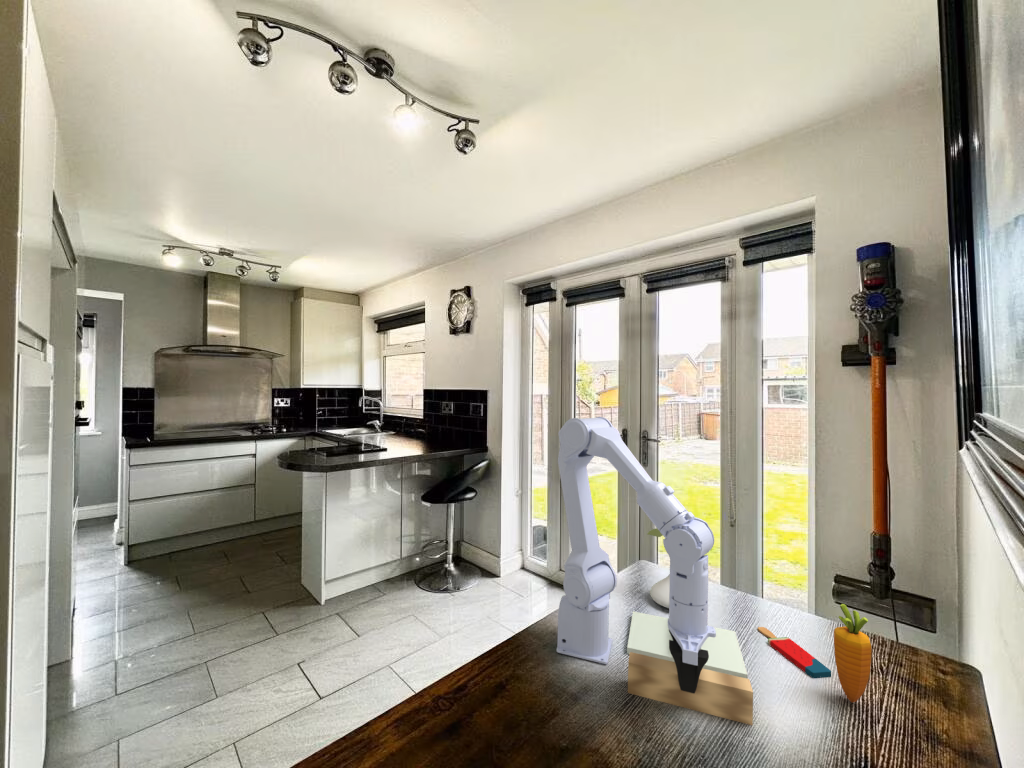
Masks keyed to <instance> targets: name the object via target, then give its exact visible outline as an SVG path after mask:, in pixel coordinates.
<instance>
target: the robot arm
mask: <svg viewBox="0 0 1024 768" xmlns="http://www.w3.org/2000/svg"><path fill="white" fill-rule="evenodd" d="M557 434H558V438H559V452H558V455H557V457H558V458H557V464H558V470H559V476H560V482H561V483H560V484H561V489H562V496H563V503H564V509H565V517H566V521H567V529H568V535H569V541H570V547H571V551H570V553H569V555H568V557H567V559H566V561H565V562H564V565H563V566H564V578H563V583H562V585H563V591H564V594H565V595H562V596H561V599H560V602H559V605H558V612H557V614H558V615H557V647H556V652H557V654H558V653H559V654H562V655H566V656H571V657H575V658H579V659H583V660H587V661H591V662H596V663H599V664H602V665H603V664H604V665H608V663H609V660H610V656H611V655H610V654H611V650H612V646H613V642H614V641H613V638H611V637H609V632H610V631H609V628H610V626H609V625H610V623H609V622H610V617H609V615H610V599H611V592H613V591H615V588H616V587H617V582H618V580H617V579H618V578H617V574H616V571H615V570H614V567H613V566H612V564H611V561H610V556H609V554H608V552H606V551H605V550H604V549H603V548H602V547H601V546H600V540H599V536H598V535H599V534H598V530H597V529H598V528H597V522H596V517H595V511H594V505H593V499H592V498H593V497H592V492H591V486H590V481H589V474H588V468H587V467H588V465H590V464H589V463H590V462H592V460H593V459H594V457H598V458H603V459H606V460H607V461H608V462H609V463H610V464H611V465H612V466H613V467H614V469H615V470H616V471H617V472H618V473H619V474H620V476H621V477H622V478H623V479H624V480H626V482H627V483H628V484H629V485H630V486H631V487H632V489H634V491H635V492H636V503H637V505H638V506H639V507H640V508H641V509H640V510H642V511H643V512H644V514H645V515H646V516H647V517H648V519H649V520H650V521H651V523H652V524H653V525H654V526H655V528H657V529H658V530H659V531H660V533H661V534H662V535H663V536H662V537H664V539H662V543H663V548H664V550H665V552H666V554H667V555H668V557H669V574H670V590H669V608H668V618H669V619H668V628H669V632H670V634H671V637H672V639H673V641H672V640H669V649H670V653H671V655H672V657H673V659H674V661H675V664H676V668H677V674H678V681H679V686H680V689H681V690H682V691H686V692H690V693H695V691H696V688H697V684H698V680H699V676H700V673H701V670H702V668H703V666H704V665H705V664H706V663H707V661H708V658H709V654H708V651H707V650H702V649H701V647H702V645H703V644H704V642H705V641H706V639H707V638H708V637H716V631H715V628H716V627H715V628H714V626H712V625H708V624H709V623H708V619H709V618H708V616H709V612H708V611H709V555H708V554H709V552H710V551H711V550H712V549H713V548H714V546H715V545H714V544H715V536H714V535H715V534H714V533H713V531H712V528H710V526H709V524H708V522H707V521H705V520H703V519H701V518H699V517H696V516H695V514H693V512H692V511H688V510H687V509H686V507H685V506H684V505H683V504H682V503H681V501H680V500H679V499H678V498H677V497H676V496H675V494H674V493H675V490H674V489H673V488H672V486H671V485H668V486H667V485H666V484H665V483H664V482H662V481H656V480H653V479H652V477H651V476H650V475H649V474H648V472H647V471H646V470H645V468H644V467H643V466H642V464H641V463H640V461H638V460H637V458H636V456H635V455H634V454H633V452H632V451H631V450H630V449H629V447H628V446H627V445H626V443H625V442H624V441H623V438H622V437H621V434H620V431H619V430H618V428H616V427H614V425H613V424H612V422H611V421H610V420H609V419H608V418H607V417H603V416H596V417H589V418H588V417H585V418H582V417H581V418H578V417H571V418H569V419H568V420H566V421H565V423H564V424H563V425H562V427H561V428H560V429H559V431H558V433H557Z"/></svg>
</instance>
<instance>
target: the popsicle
mask: <svg viewBox="0 0 1024 768" xmlns="http://www.w3.org/2000/svg"><path fill="white" fill-rule="evenodd" d="M757 630H758V632H759V633H761V634H762V635H763V636H765V637H767V645H769V646H770V647H771V648H772V649H774V650H775V651H776V652H778V653H779V654H780V655H782V656H783V657H784V658H785V659H787V660H788V661H789V662H791V663H792V664H793V665H794V666H796V667H797V668H798V669H800V671H802V672H804V673H805V674H806V675H808V676H809V677H810V678H812V679H824V678H825V679H826V678H832V671H831V669H830V668H828V667H827V666H826V665H824V664H823V663H822V662H821V661H820V660H818V659H817V658H815V657H814V656H813V655H812V654H810V653H809V652H808V651H807V650H805V649H804V648H803V647H801V646H800V645H799V644H798V643H796V642H795V641H793V640H792V639H791V638H789V637H787V636H785V637H777V636H776V635H775V634H774V633H773V632H772V631H770V630H769V629H768V628H766V627H765V626H758V627H757Z"/></svg>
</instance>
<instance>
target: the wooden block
mask: <svg viewBox="0 0 1024 768" xmlns="http://www.w3.org/2000/svg"><path fill="white" fill-rule="evenodd" d="M627 663H628V664H627V668H628V669H627V693H628V694H630V695H635V696H639V697H643V698H647V699H650V700H654V701H658V702H660V703H665V704H668V705H673V706H677V707H679V708H685V709H688V710H691V711H696V712H699V713H700V712H701V713H703V714H708V715H712V716H716V717H718V718H722V719H726V720H731V721H734V722H737V723H738V722H739V723H741V724H746V725H749V726H753V724H754V723H753V721H754V717H753V715H754V691H753V688H752V683H751V680H750V678H748V679H746V678H742V677H738V676H733V675H729V674H725V673H720V672H716V671H711V670H707V669H703V668H702V670H701V673H700V676H699V680H698V684H697V688H696V691H695V693H690V692H686V691H682V690H681V689H680V686H679V681H678V674H677V668H676V664H675V662H672V661H668V660H663V659H659V658H655V657H650V656H646V655H641V654H637V653H633V652H630V654H628V662H627Z"/></svg>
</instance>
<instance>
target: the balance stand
mask: <svg viewBox="0 0 1024 768" xmlns="http://www.w3.org/2000/svg"><path fill="white" fill-rule="evenodd" d="M668 619H669V617H664V616H658V615H653V614H648V613H644V612H639V611H632V616H631V623H630V628H629V636H628V641H627V647H626V654H627V655H629V654H630V652H633V653H637V654H641V655H646V656H650V657H655V658H659V659H663V660H668V661H672V662H675V661H674V659H673V657H672V655H671V653H670V649H669V640H672V641H673V639H672V637H671V634H670V632H669V628H668ZM713 627H714V626H713ZM714 628H715V631H716V637H708V638H707V639H706V641H705V642H704V644H703V645H702V647H701V649H702V650H707V651H708V654H709V658H708V661H707V663H706V664H705V665H704V666H703V669H707V670H711V671H716V672H720V673H725V674H729V675H733V676H738V677H742V678H746V679H749V678H748V677H749V676H748V672H747V671H748V670H747V667H746V665H745V662H744V661H745V660H744V658H743V654H742V649H741V648H740V643H739V640H738V636H737V632H736V631H735V630H732V629H731V630H730V629H725V628H720V627H714Z"/></svg>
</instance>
